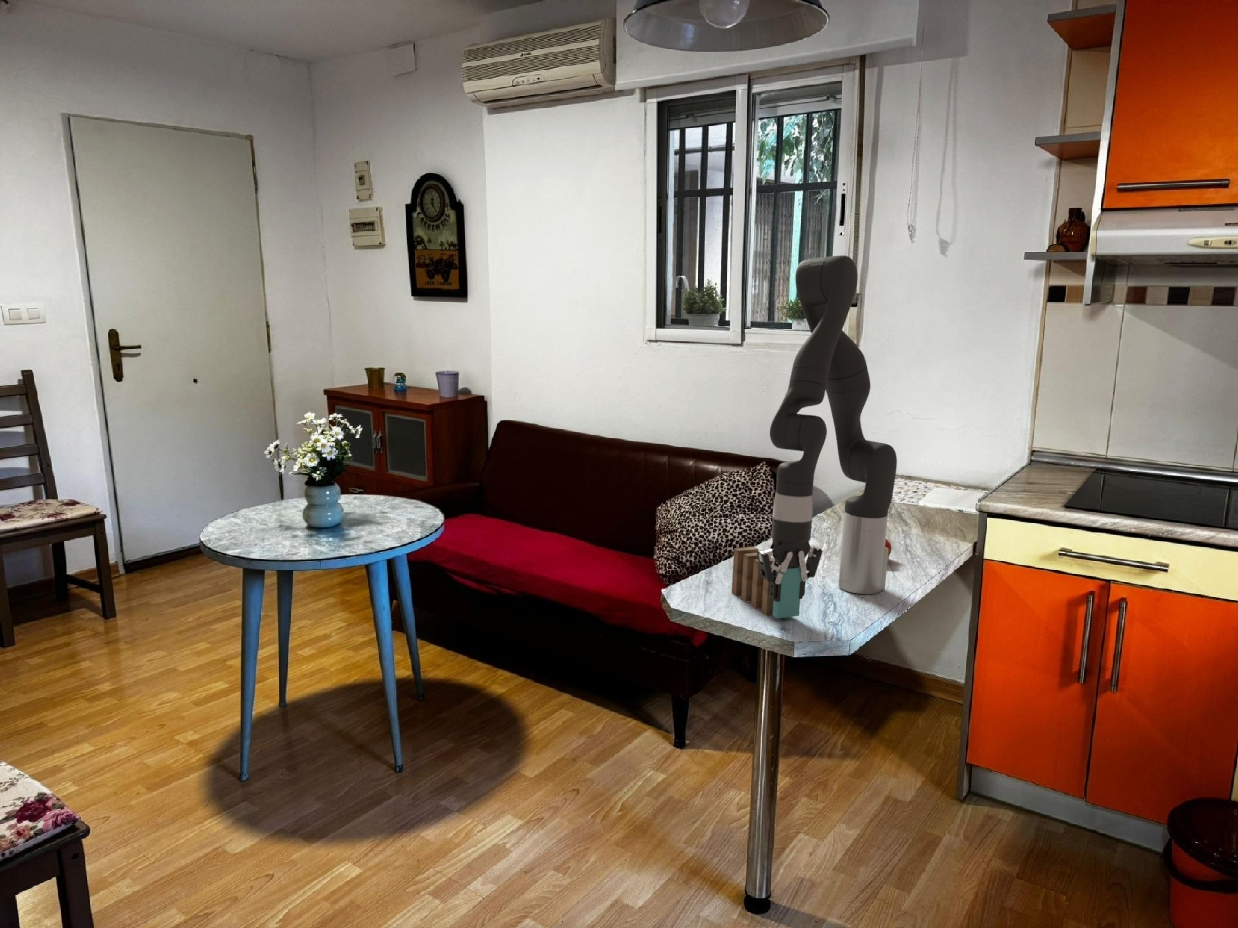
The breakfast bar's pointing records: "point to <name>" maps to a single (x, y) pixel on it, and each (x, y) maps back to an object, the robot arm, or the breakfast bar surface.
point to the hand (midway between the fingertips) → (786, 598)
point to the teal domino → (788, 594)
